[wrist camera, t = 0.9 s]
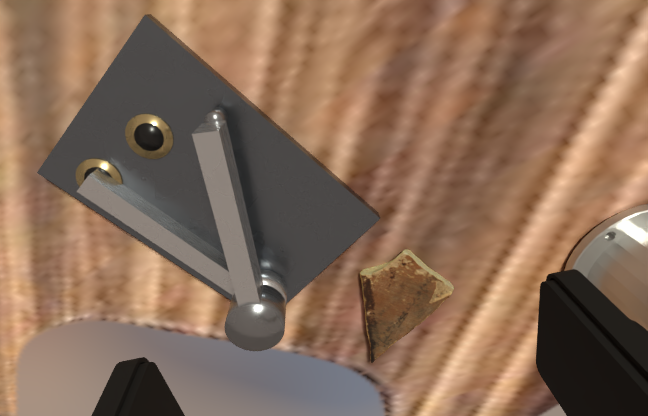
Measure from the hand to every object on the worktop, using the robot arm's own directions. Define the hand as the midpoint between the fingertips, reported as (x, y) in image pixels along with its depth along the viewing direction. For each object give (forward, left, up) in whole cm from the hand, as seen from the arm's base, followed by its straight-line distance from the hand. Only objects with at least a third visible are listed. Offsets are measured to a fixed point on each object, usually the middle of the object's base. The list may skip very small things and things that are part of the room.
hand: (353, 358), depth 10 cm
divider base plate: (+2, +9, -22) cm, 24 cm away
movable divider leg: (-1, +9, -20) cm, 22 cm away
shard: (-17, +7, -23) cm, 29 cm away
